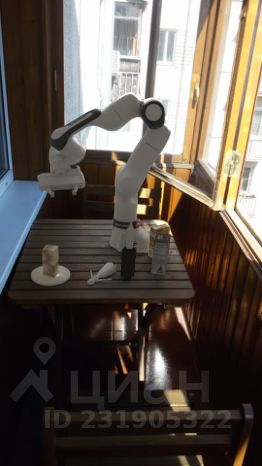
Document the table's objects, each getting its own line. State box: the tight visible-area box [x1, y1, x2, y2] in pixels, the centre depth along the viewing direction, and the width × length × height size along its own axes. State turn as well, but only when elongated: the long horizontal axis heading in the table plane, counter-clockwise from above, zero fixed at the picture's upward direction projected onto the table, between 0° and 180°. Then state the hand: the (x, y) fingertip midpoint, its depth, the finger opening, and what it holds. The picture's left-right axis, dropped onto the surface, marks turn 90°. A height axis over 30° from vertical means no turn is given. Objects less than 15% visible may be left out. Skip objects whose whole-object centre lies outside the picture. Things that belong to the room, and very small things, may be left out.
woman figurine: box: [86, 261, 118, 286], centre depth 164 cm, size 12×4×18 cm
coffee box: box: [150, 233, 172, 276], centre depth 171 cm, size 9×6×16 cm
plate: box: [30, 265, 71, 287], centre depth 162 cm, size 16×16×1 cm
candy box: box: [147, 223, 171, 259], centre depth 184 cm, size 9×4×15 cm, turn 125°
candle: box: [119, 222, 137, 280], centre depth 162 cm, size 5×5×25 cm
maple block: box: [41, 244, 60, 277], centre depth 160 cm, size 5×5×12 cm
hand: (63, 195), depth 168 cm, fingers open, 8 cm apart
